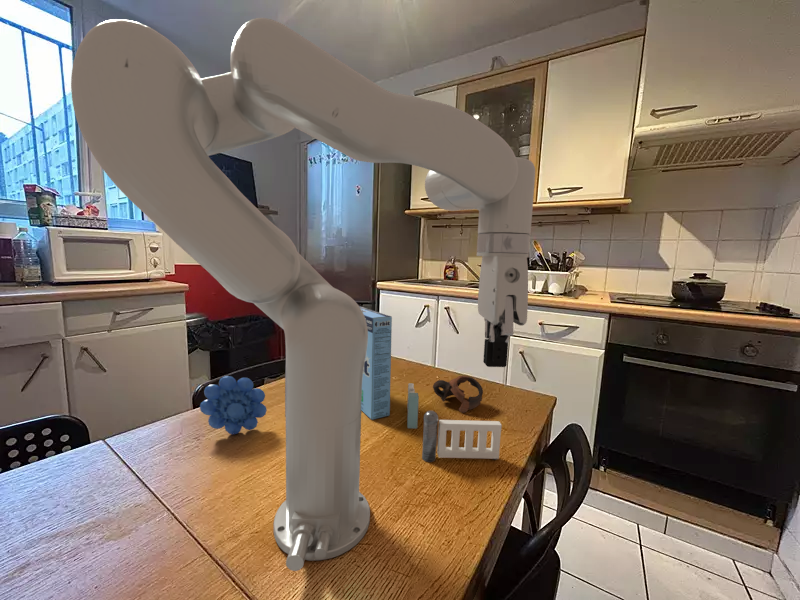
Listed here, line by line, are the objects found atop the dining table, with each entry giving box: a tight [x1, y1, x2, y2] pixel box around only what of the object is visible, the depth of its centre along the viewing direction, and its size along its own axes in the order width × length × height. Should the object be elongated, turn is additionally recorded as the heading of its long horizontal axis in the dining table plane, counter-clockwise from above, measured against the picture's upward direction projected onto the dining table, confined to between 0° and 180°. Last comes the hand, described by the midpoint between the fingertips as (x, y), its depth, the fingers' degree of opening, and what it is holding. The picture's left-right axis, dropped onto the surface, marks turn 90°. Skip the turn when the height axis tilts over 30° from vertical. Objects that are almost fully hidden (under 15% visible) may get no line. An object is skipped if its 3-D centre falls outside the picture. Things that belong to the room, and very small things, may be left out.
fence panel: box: [406, 382, 416, 410], centre depth 77 cm, size 8×1×6 cm, turn 2°
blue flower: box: [199, 375, 268, 435], centre depth 66 cm, size 12×7×12 cm, turn 119°
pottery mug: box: [432, 375, 484, 414], centre depth 84 cm, size 12×10×8 cm
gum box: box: [358, 305, 393, 421], centre depth 82 cm, size 20×5×23 cm, turn 31°
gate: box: [436, 419, 503, 461], centre depth 61 cm, size 11×1×7 cm, turn 92°
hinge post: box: [421, 410, 439, 463], centre depth 61 cm, size 3×3×9 cm
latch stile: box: [406, 392, 419, 429], centre depth 72 cm, size 2×2×7 cm
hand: (494, 365), depth 54 cm, fingers closed
